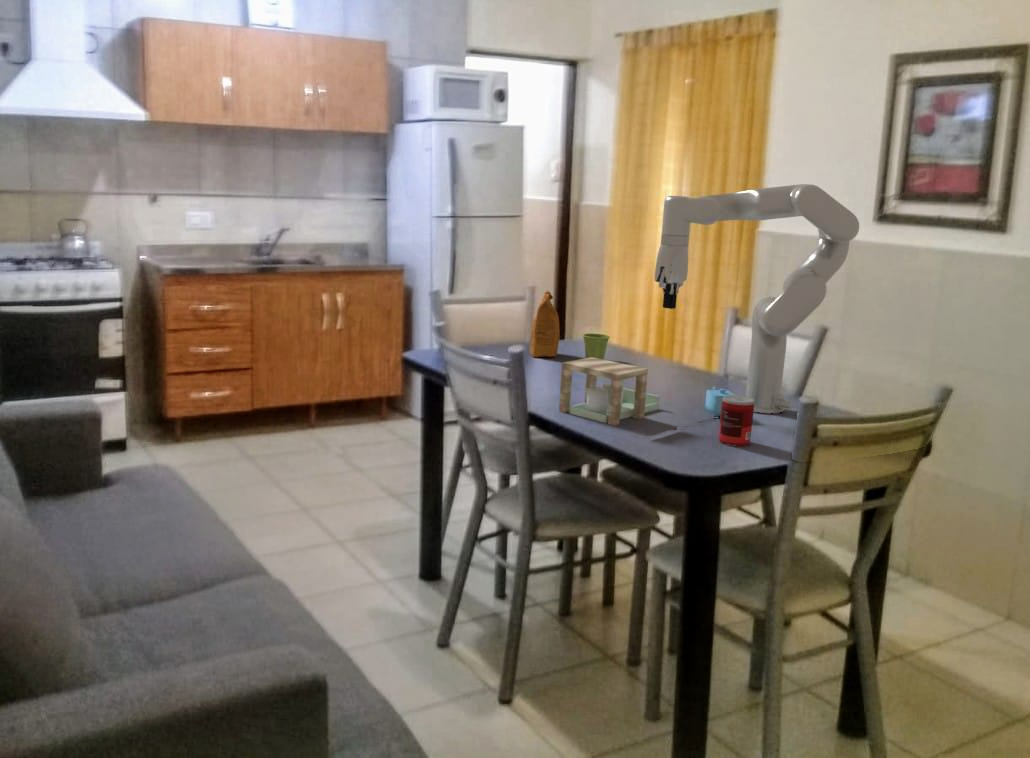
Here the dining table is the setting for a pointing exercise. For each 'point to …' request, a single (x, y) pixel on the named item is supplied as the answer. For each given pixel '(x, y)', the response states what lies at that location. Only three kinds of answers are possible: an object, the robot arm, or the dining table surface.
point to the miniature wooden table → (616, 374)
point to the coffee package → (545, 329)
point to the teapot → (715, 400)
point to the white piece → (608, 386)
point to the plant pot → (595, 345)
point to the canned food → (736, 420)
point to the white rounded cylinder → (597, 400)
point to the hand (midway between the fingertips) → (669, 307)
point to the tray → (627, 407)
